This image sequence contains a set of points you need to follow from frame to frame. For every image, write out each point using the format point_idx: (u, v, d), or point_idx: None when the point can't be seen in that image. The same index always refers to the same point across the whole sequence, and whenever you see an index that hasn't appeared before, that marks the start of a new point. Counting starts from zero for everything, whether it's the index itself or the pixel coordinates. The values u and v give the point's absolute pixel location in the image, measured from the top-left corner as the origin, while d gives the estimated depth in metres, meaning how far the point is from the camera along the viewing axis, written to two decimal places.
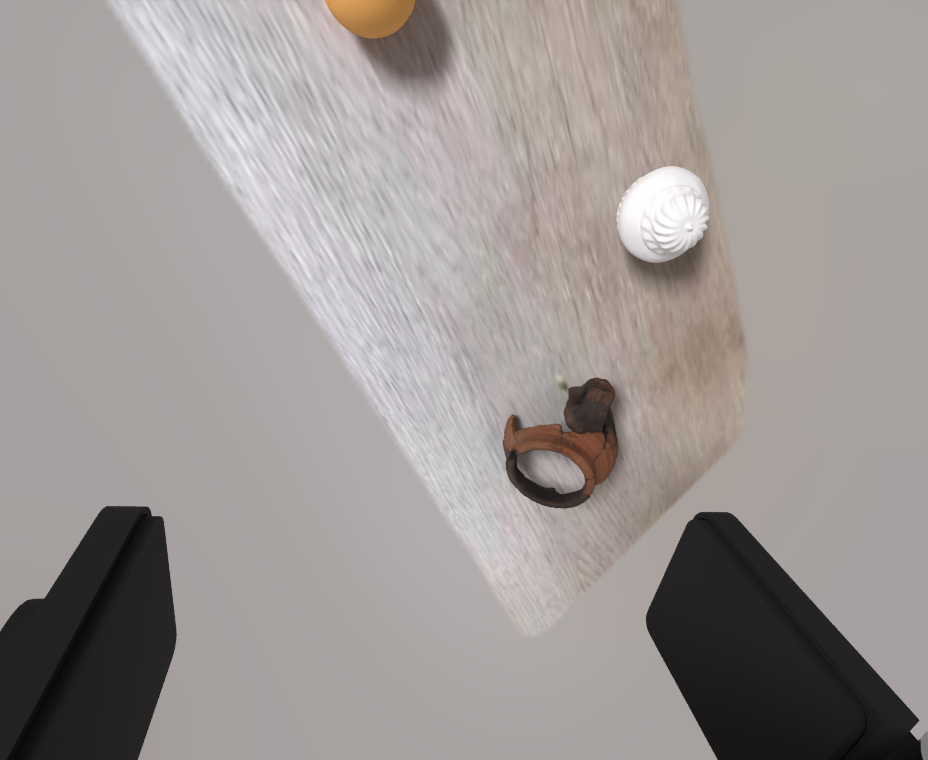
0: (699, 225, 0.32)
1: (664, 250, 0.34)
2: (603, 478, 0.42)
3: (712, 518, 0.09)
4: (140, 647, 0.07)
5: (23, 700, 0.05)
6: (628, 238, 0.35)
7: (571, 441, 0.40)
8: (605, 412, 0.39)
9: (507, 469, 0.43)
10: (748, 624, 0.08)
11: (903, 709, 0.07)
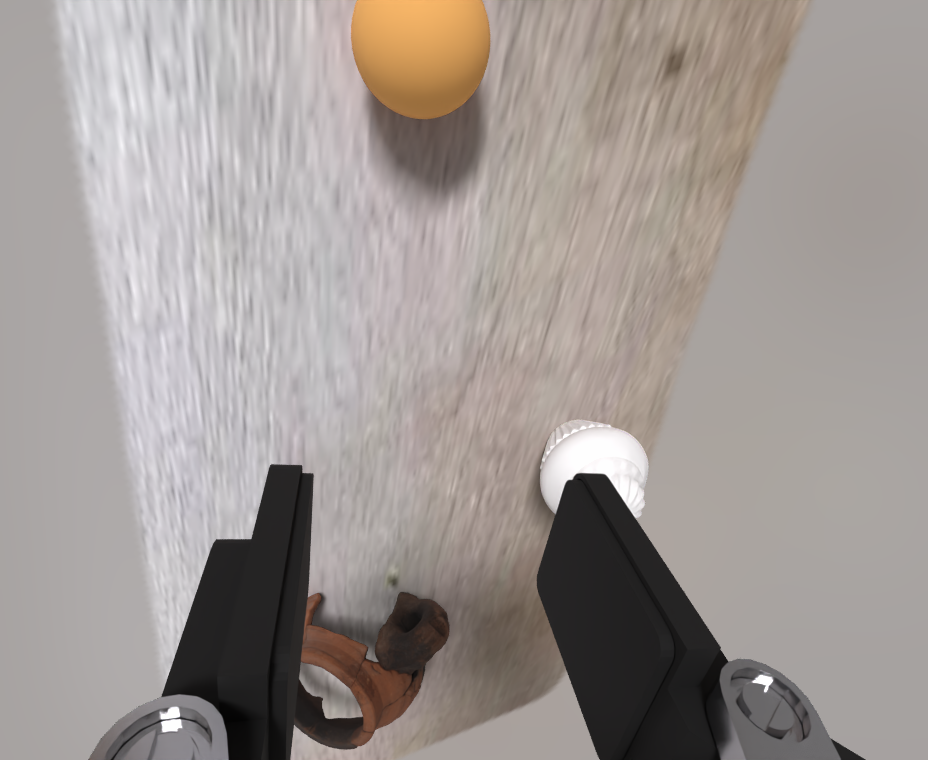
0: None
1: None
2: (384, 725, 0.32)
3: (584, 478, 0.10)
4: (304, 581, 0.09)
5: (267, 600, 0.06)
6: (549, 484, 0.28)
7: (370, 675, 0.30)
8: (426, 660, 0.30)
9: None
10: (600, 572, 0.09)
11: (707, 638, 0.07)
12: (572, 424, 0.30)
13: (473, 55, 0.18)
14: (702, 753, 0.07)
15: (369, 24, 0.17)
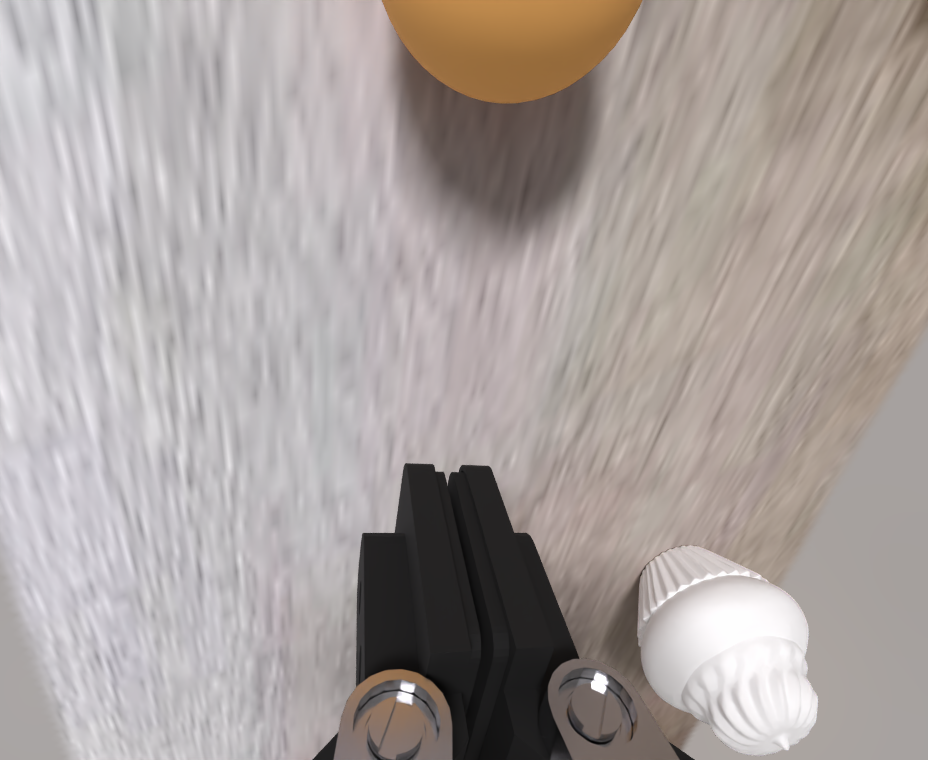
0: (795, 741, 0.17)
1: (707, 723, 0.18)
2: None
3: (465, 470, 0.10)
4: None
5: (448, 586, 0.07)
6: (661, 667, 0.18)
7: None
8: None
9: None
10: None
11: (544, 636, 0.07)
12: (685, 559, 0.20)
13: None
14: (529, 758, 0.06)
15: None
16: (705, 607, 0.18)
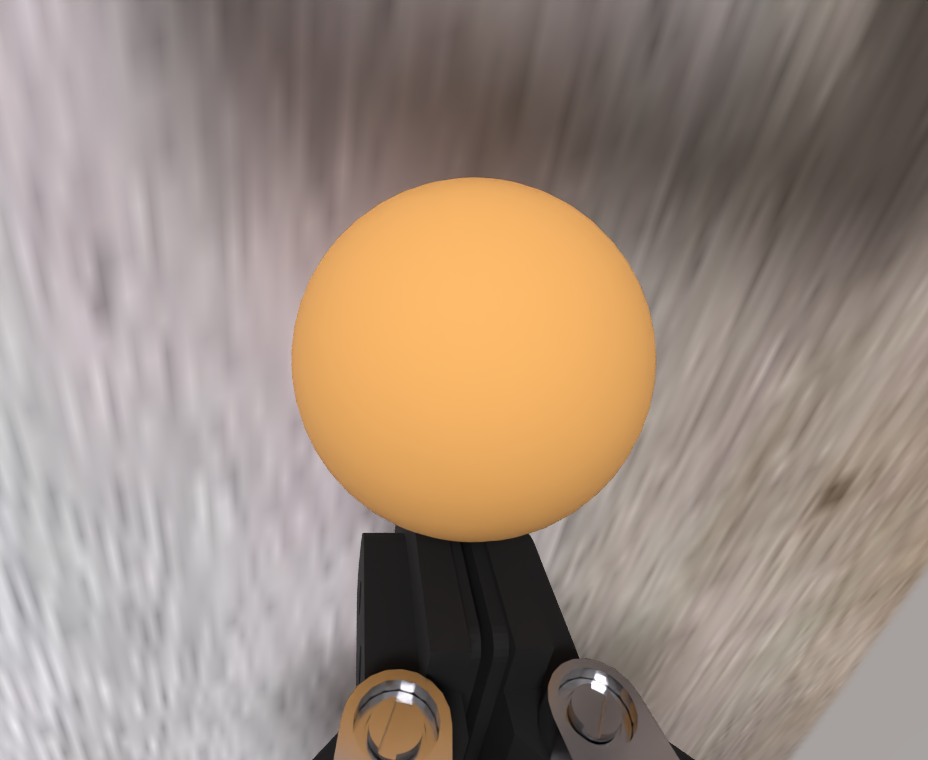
0: None
1: None
2: None
3: None
4: None
5: (448, 587, 0.07)
6: None
7: None
8: None
9: None
10: None
11: (543, 636, 0.07)
12: None
13: None
14: (529, 759, 0.06)
15: None
16: None
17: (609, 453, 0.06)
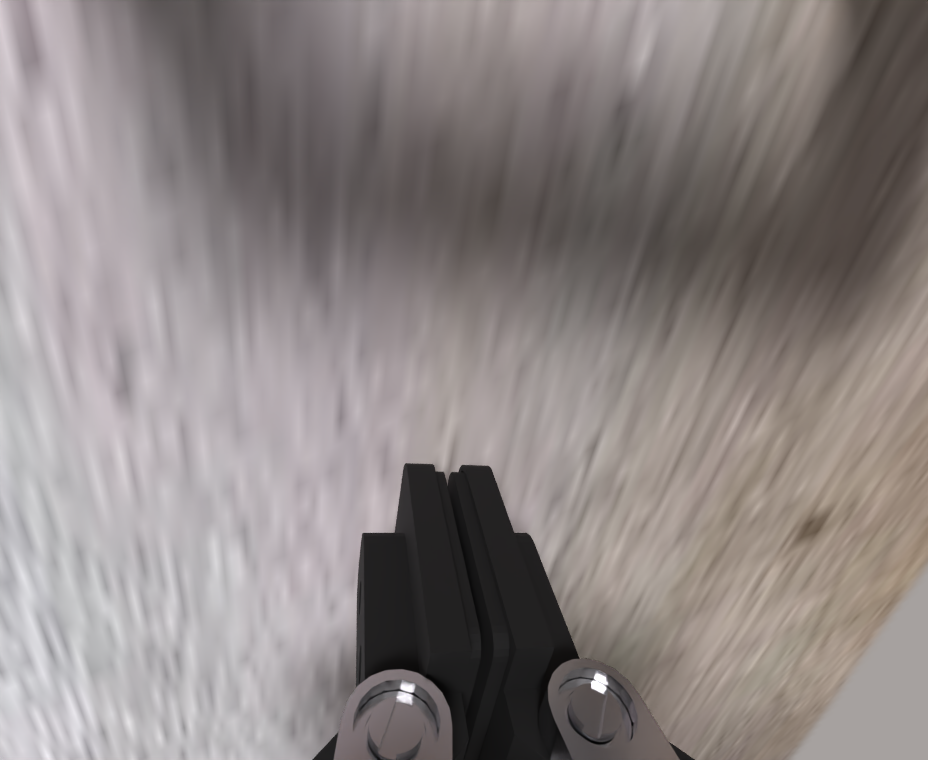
0: None
1: None
2: None
3: (465, 470, 0.10)
4: None
5: (448, 587, 0.07)
6: None
7: None
8: None
9: None
10: None
11: (544, 636, 0.07)
12: None
13: None
14: (529, 759, 0.06)
15: None
16: None
17: None
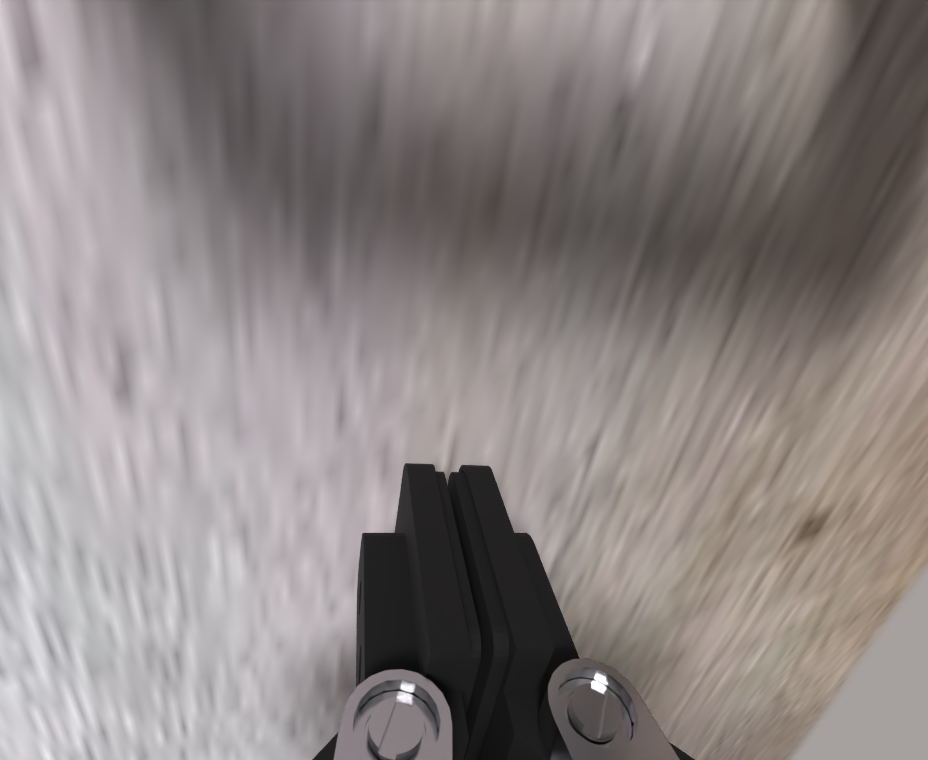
0: None
1: None
2: None
3: (465, 470, 0.10)
4: None
5: (448, 587, 0.07)
6: None
7: None
8: None
9: None
10: None
11: (544, 636, 0.07)
12: None
13: None
14: (529, 759, 0.06)
15: None
16: None
17: None
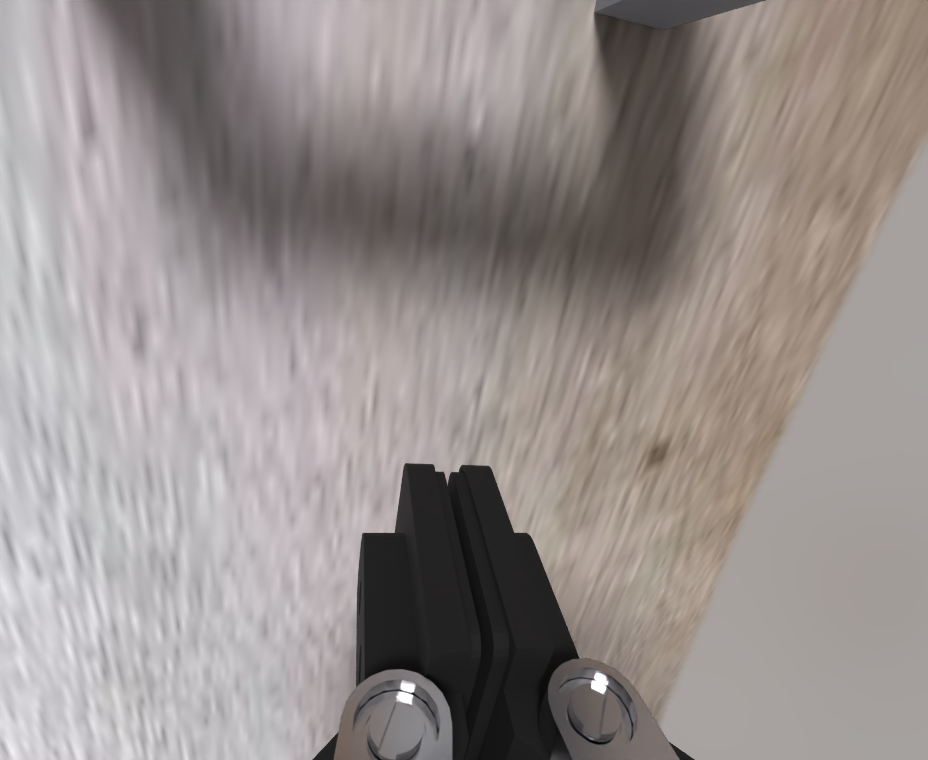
0: None
1: None
2: None
3: (465, 470, 0.10)
4: None
5: (448, 586, 0.07)
6: None
7: None
8: None
9: None
10: None
11: (543, 636, 0.07)
12: None
13: None
14: (529, 758, 0.06)
15: None
16: None
17: None
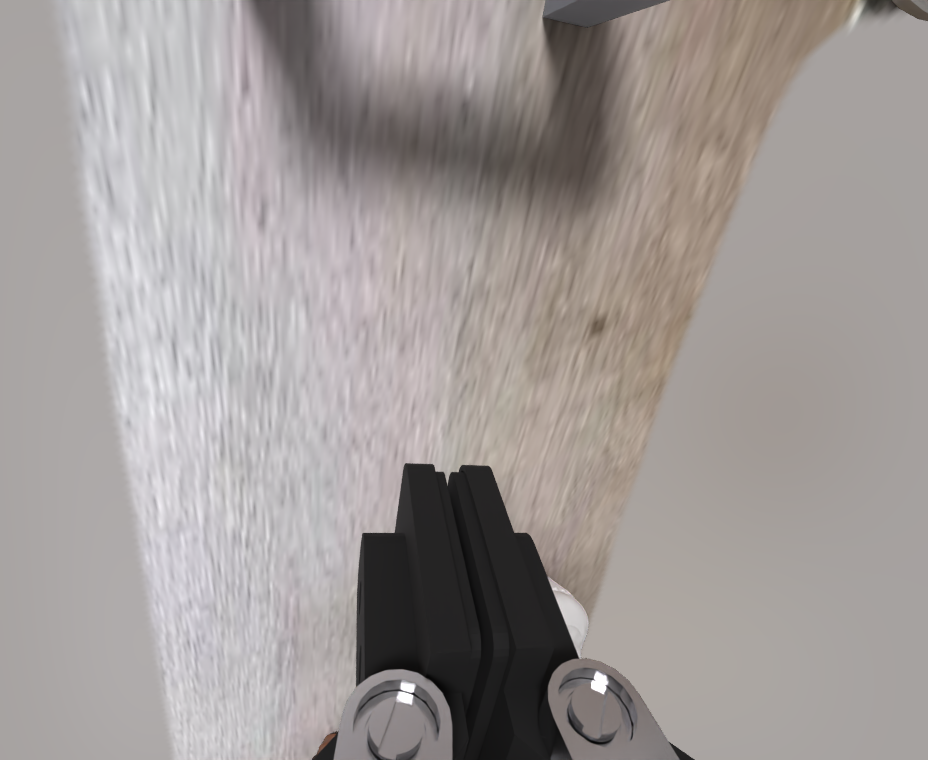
0: None
1: None
2: None
3: (465, 470, 0.10)
4: None
5: (448, 586, 0.07)
6: None
7: None
8: None
9: None
10: None
11: (544, 636, 0.07)
12: None
13: None
14: (529, 759, 0.06)
15: None
16: None
17: None
